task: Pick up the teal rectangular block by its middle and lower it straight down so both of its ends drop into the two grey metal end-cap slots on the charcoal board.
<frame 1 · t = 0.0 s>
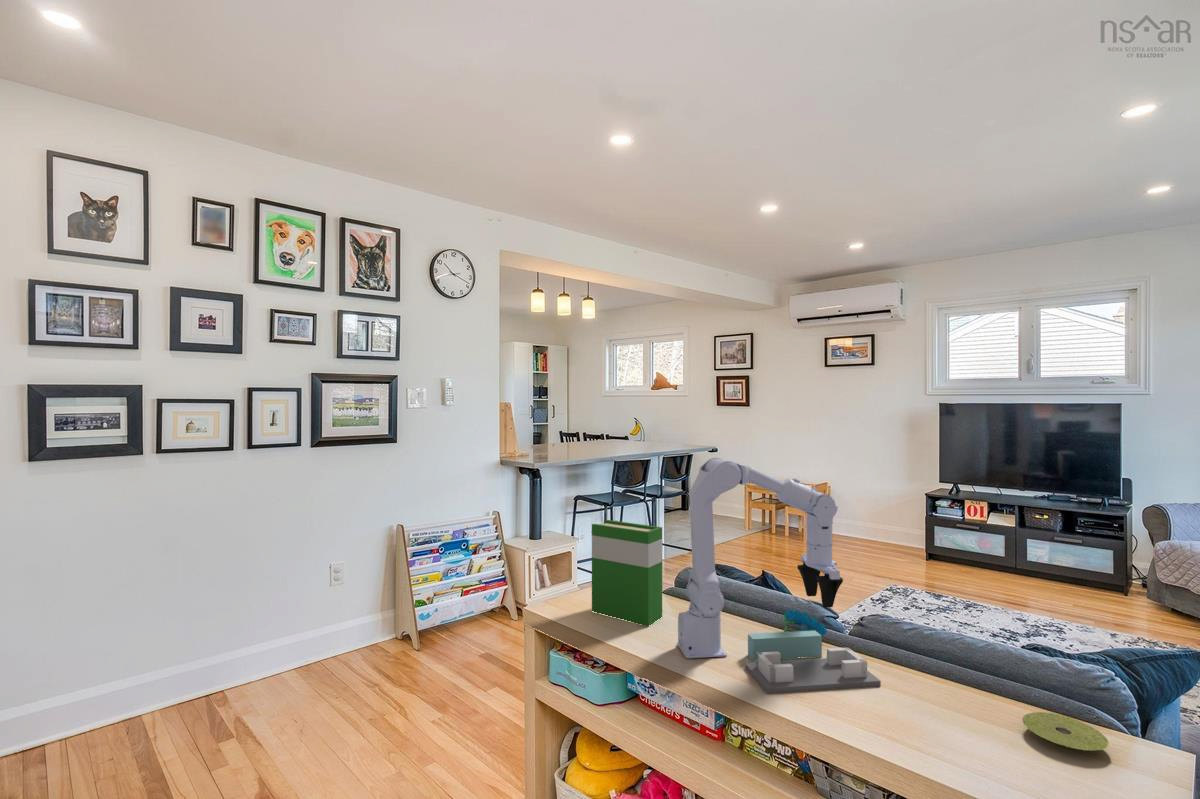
hand: (819, 601, 135), 10 cm above the table, tool pointing down, fingers open, 7 cm apart
cradle: (810, 676, 119), on the table
mat: (1064, 742, 96), on the table
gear: (803, 638, 139), on the table
teal rectangular block: (784, 657, 129), on the table
hardback book: (626, 616, 154), on the table
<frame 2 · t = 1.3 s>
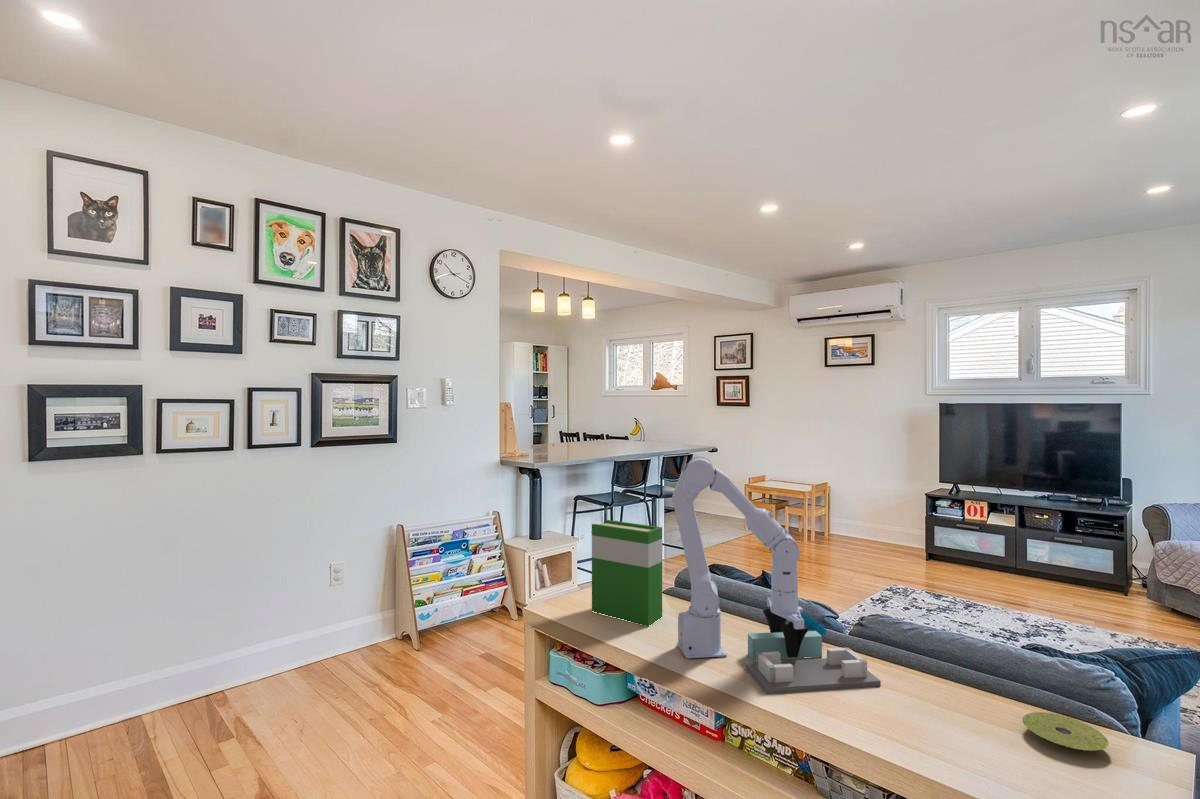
hand: (784, 649, 129), 1 cm above the table, tool pointing down, fingers open, 7 cm apart
nothing on the table moved.
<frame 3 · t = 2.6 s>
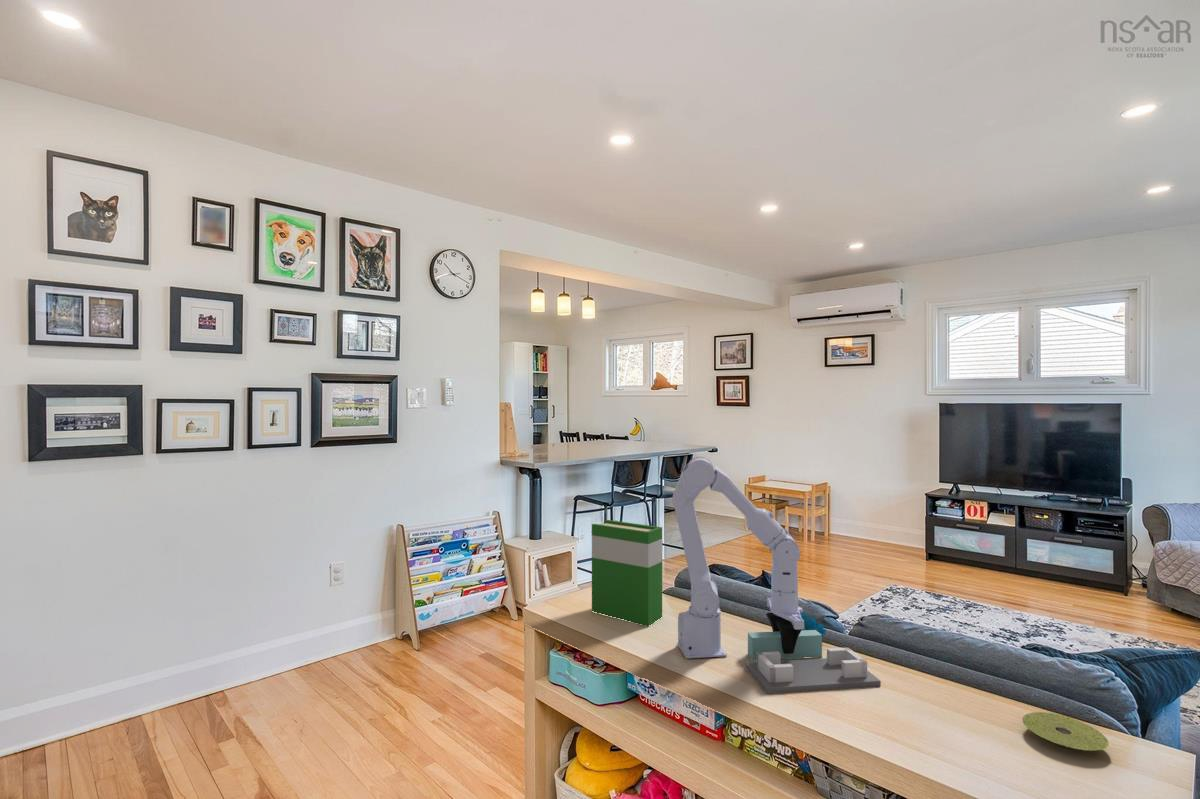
hand: (784, 649, 129), 1 cm above the table, tool pointing down, fingers closed on teal rectangular block, 3 cm apart
teal rectangular block: (784, 656, 129), on the table, touching gripper
everything else where it was.
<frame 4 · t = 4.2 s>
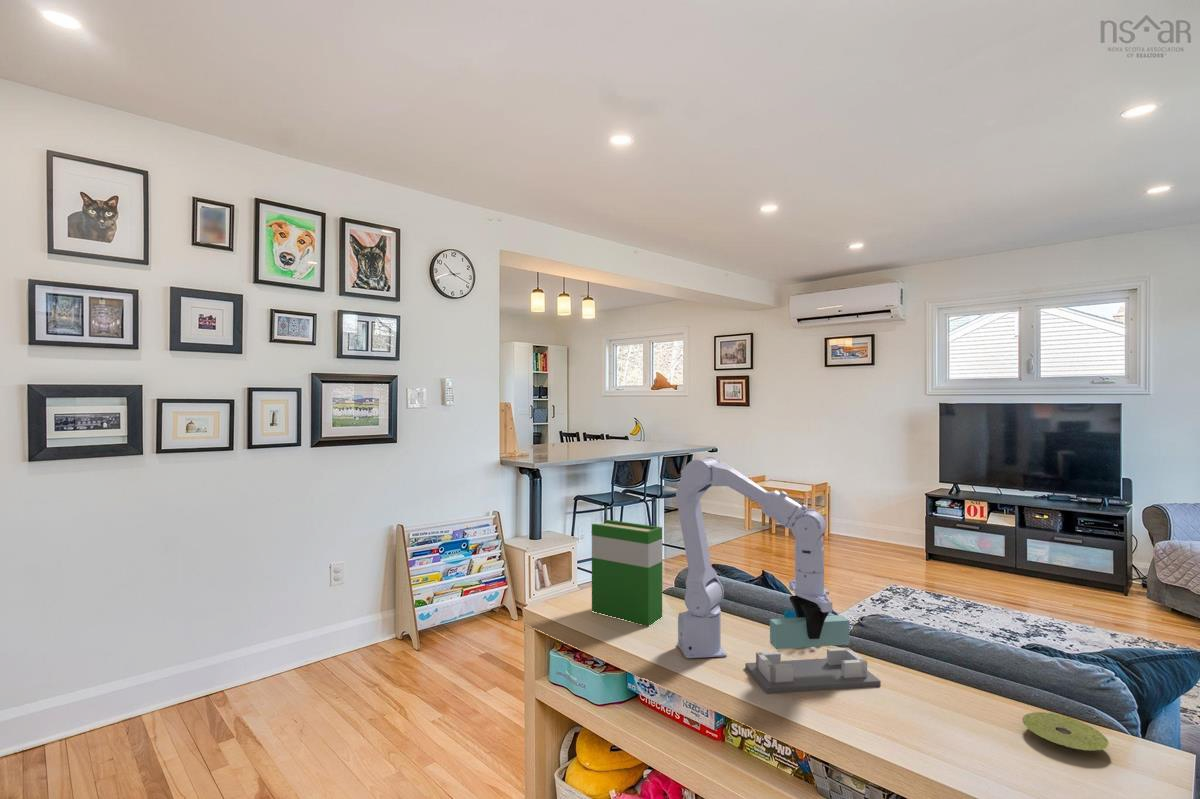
hand: (809, 634, 120), 8 cm above the table, tool pointing down, fingers closed on teal rectangular block, 3 cm apart
teal rectangular block: (809, 643, 120), point 7 cm above the table, touching gripper
everything else where it was.
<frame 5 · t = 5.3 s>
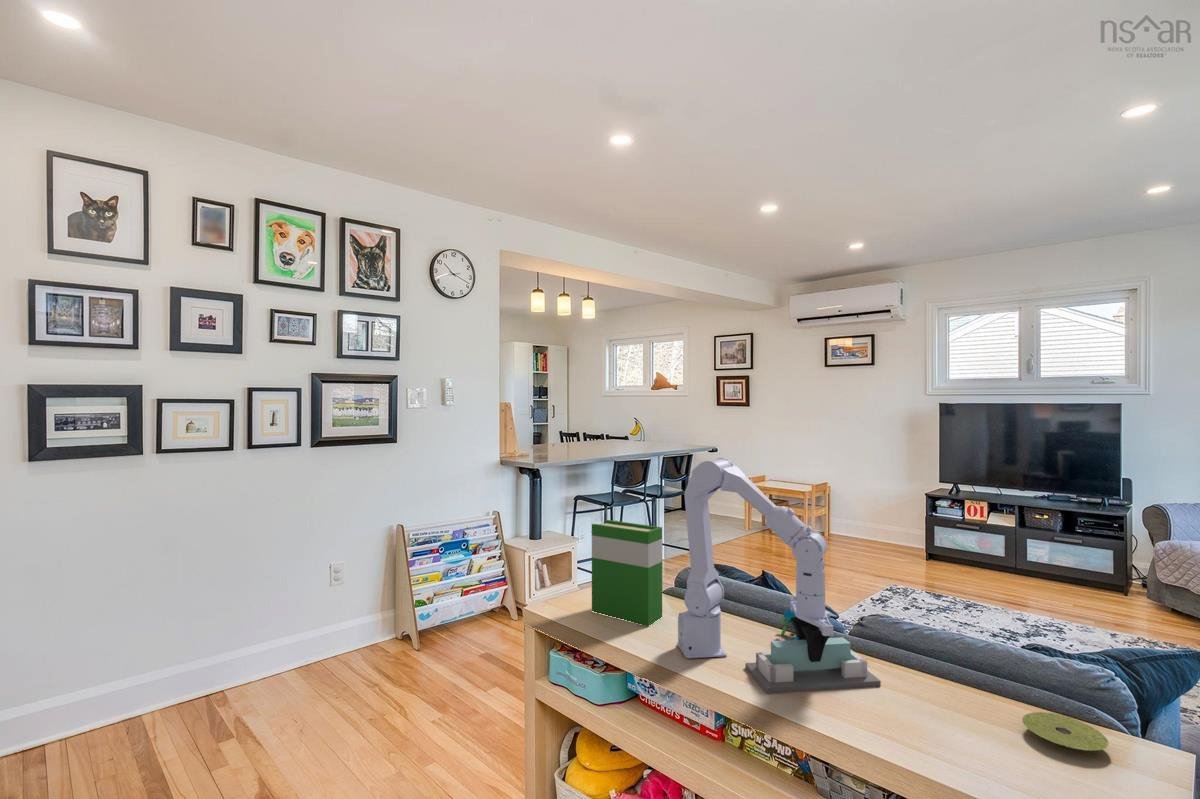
hand: (810, 657, 119), 4 cm above the table, tool pointing down, fingers closed on teal rectangular block, 3 cm apart
teal rectangular block: (810, 666, 119), point 2 cm above the table, touching gripper
everything else where it was.
when the fingers open (4 cm above the table, at t = 6.0 s): teal rectangular block stays where it is, resting on cradle.
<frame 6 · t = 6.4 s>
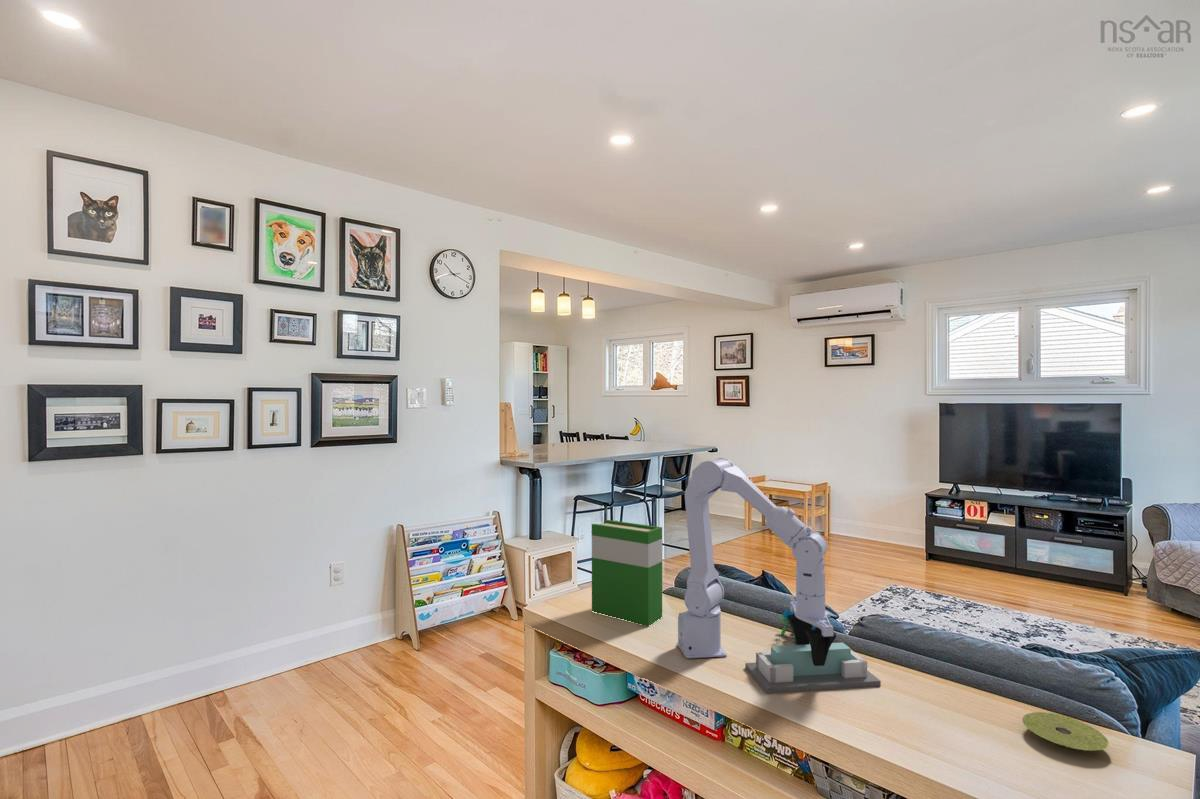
hand: (810, 657, 119), 4 cm above the table, tool pointing down, fingers open, 6 cm apart
teal rectangular block: (810, 671, 119), point 1 cm above the table, touching cradle
everything else where it was.
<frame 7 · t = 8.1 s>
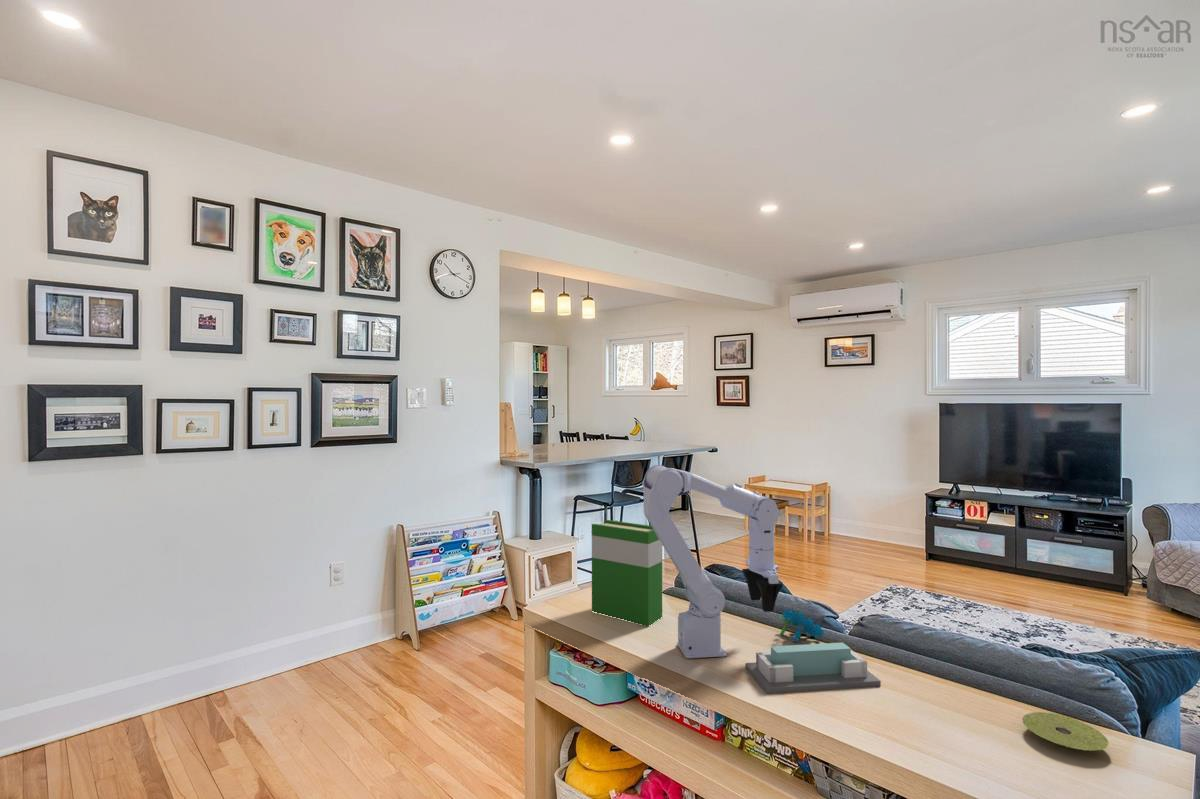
hand: (761, 605, 135), 9 cm above the table, tool pointing down, fingers open, 7 cm apart
nothing on the table moved.
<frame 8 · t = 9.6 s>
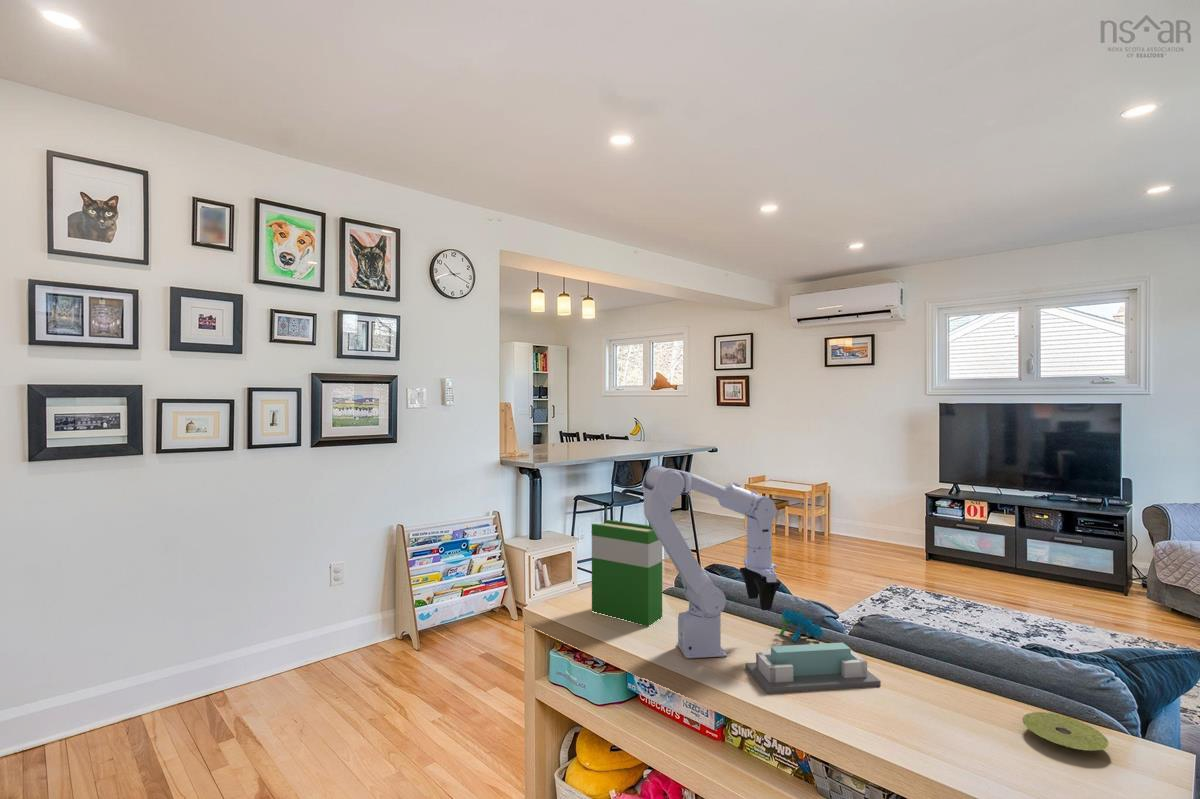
hand: (759, 603, 136), 9 cm above the table, tool pointing down, fingers open, 7 cm apart
nothing on the table moved.
at the end: teal rectangular block 0.0 cm off-centre on the cradle, point 1.0 cm above the cradle's base; teal rectangular block tilted 0°; the gripper is holding nothing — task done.
